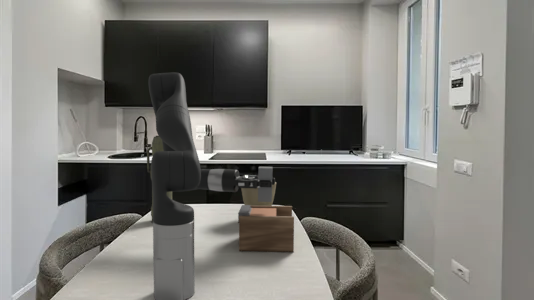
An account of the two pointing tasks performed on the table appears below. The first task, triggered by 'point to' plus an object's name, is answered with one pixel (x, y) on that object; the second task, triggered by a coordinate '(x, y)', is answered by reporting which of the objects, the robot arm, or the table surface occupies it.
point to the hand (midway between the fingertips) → (273, 182)
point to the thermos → (156, 147)
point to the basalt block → (265, 192)
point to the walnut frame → (267, 231)
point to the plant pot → (255, 196)
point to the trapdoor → (256, 211)
